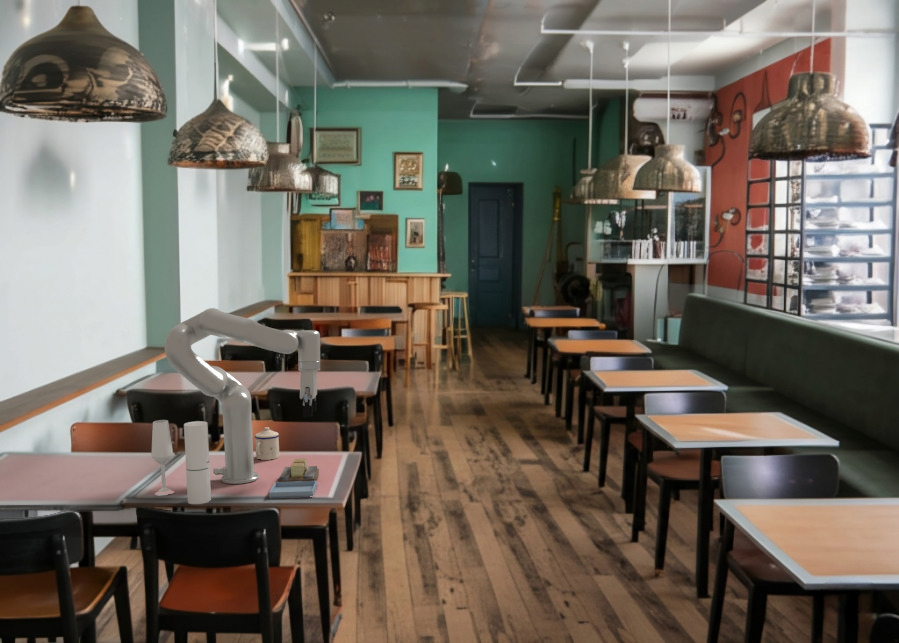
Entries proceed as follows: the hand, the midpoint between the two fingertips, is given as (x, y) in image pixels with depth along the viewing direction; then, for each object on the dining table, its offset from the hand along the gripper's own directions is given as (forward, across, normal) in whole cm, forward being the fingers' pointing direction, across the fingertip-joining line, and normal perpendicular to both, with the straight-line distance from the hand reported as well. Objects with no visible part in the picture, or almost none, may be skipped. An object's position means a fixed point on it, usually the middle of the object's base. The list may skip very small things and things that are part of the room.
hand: (309, 414), depth 301 cm
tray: (+22, +22, -2) cm, 31 cm away
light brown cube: (+19, +6, -2) cm, 20 cm away
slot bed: (+21, +10, -2) cm, 24 cm away
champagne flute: (+23, +19, -45) cm, 54 cm away
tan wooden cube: (+19, +12, -2) cm, 22 cm away
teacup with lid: (+22, -24, -20) cm, 38 cm away
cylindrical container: (+23, +29, -31) cm, 48 cm away
